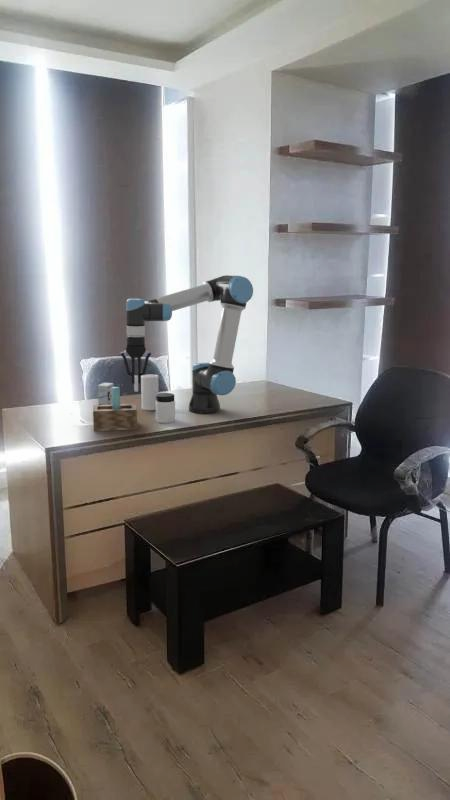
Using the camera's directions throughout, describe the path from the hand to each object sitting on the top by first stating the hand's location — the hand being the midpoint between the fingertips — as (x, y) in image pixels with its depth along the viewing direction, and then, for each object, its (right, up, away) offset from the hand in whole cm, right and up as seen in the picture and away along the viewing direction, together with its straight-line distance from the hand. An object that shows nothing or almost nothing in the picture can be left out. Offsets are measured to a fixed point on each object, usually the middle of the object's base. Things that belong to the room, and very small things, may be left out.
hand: (136, 391), depth 262 cm
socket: (-9, -15, +2) cm, 18 cm away
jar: (+11, -13, +13) cm, 22 cm away
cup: (+2, -8, +36) cm, 37 cm away
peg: (-8, -14, +2) cm, 17 cm away
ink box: (-20, -8, +36) cm, 42 cm away
